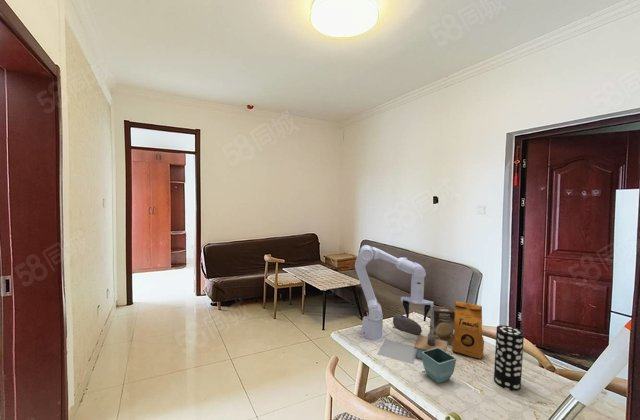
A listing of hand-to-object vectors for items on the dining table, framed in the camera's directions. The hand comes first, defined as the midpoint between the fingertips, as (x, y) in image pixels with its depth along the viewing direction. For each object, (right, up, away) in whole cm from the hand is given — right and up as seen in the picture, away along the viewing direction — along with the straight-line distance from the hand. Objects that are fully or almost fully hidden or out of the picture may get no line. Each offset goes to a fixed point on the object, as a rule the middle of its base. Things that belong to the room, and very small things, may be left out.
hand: (416, 318), depth 137 cm
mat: (-11, -11, -10) cm, 18 cm away
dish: (+2, -11, -13) cm, 17 cm away
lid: (+2, -7, -13) cm, 15 cm away
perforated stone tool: (-1, -10, +10) cm, 14 cm away
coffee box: (+11, -11, -1) cm, 16 cm away
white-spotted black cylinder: (+23, -13, -30) cm, 40 cm away
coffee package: (+19, -12, -9) cm, 24 cm away
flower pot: (-1, -12, -28) cm, 31 cm away
